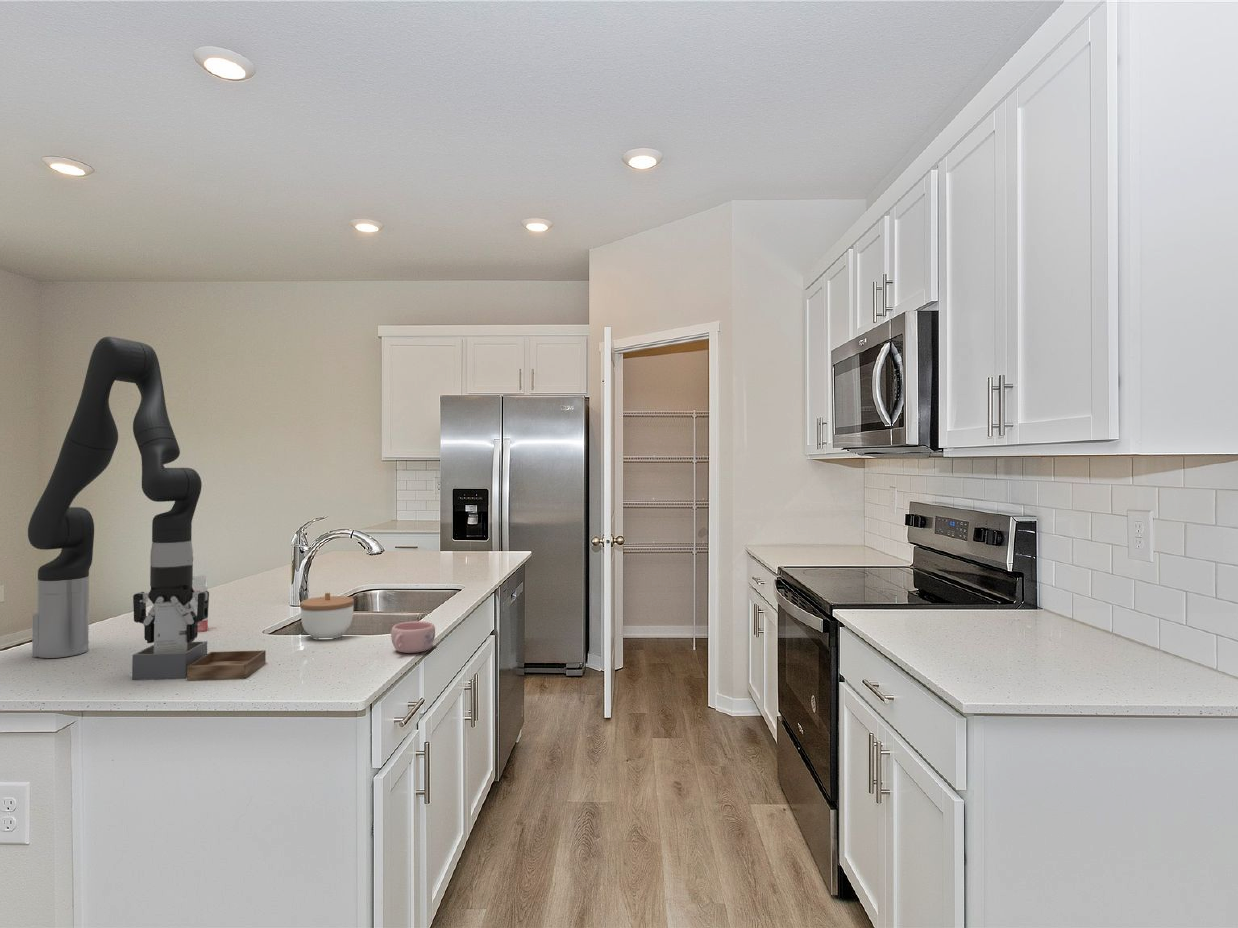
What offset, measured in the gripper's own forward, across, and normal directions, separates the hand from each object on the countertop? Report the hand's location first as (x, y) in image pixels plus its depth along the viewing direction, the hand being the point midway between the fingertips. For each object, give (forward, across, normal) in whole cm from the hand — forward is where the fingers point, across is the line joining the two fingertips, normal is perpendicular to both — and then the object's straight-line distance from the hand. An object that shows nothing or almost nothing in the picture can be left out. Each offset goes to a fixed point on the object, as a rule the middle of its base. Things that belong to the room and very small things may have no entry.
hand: (171, 641), depth 148 cm
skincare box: (+4, 0, 0) cm, 4 cm away
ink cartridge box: (+7, -13, +38) cm, 41 cm away
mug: (+7, +47, +11) cm, 49 cm away
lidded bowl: (+7, +24, +28) cm, 37 cm away
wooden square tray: (+6, +12, -1) cm, 13 cm away
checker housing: (+6, 0, 0) cm, 6 cm away
